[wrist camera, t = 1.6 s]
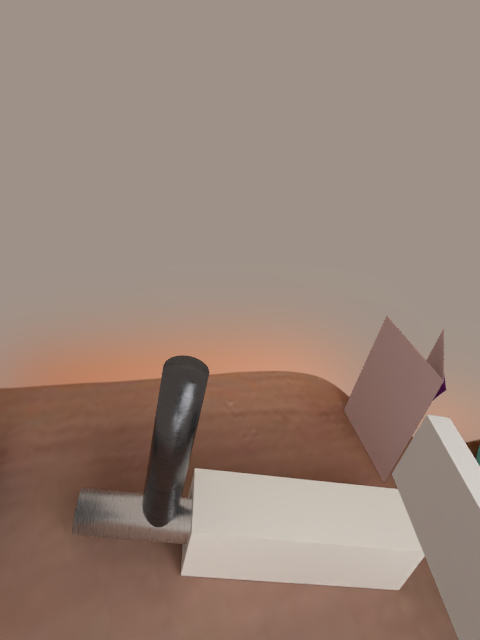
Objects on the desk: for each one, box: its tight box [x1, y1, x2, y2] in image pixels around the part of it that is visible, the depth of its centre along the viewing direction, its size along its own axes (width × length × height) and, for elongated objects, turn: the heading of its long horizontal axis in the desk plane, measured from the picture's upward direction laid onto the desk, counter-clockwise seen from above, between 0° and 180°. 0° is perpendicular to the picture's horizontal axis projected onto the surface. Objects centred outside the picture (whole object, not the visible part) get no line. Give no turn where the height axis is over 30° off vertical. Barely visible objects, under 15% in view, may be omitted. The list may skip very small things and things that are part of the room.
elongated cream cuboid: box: [181, 468, 425, 590], centre depth 39 cm, size 20×6×6 cm, turn 92°
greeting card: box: [344, 316, 446, 483], centre depth 51 cm, size 11×7×15 cm, turn 157°
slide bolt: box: [72, 356, 209, 544], centre depth 35 cm, size 26×4×18 cm, turn 92°
